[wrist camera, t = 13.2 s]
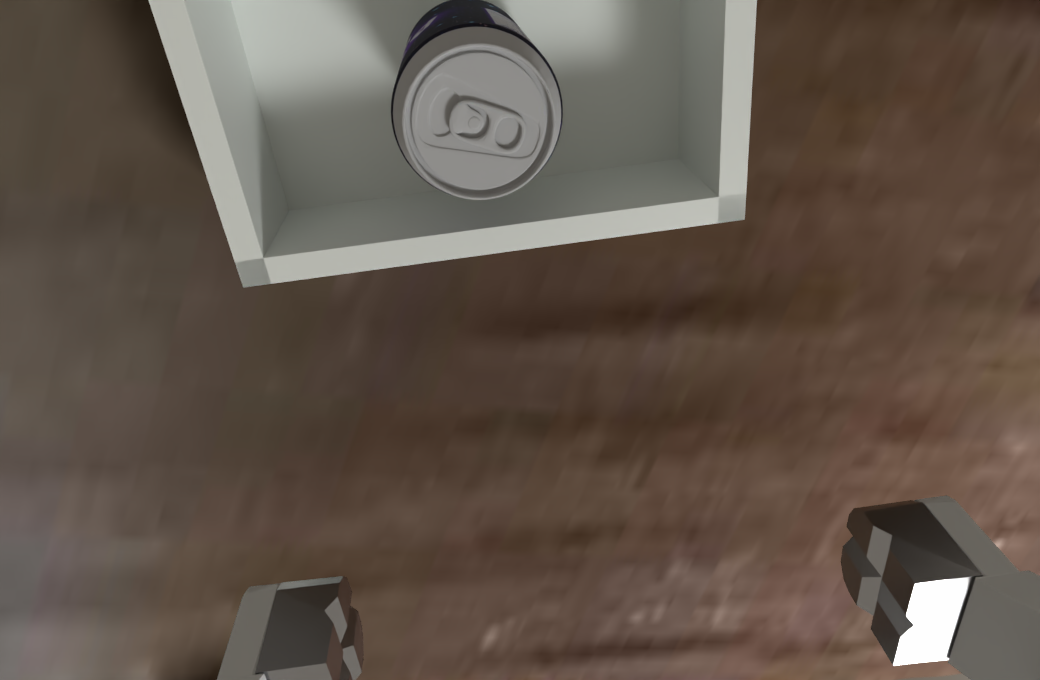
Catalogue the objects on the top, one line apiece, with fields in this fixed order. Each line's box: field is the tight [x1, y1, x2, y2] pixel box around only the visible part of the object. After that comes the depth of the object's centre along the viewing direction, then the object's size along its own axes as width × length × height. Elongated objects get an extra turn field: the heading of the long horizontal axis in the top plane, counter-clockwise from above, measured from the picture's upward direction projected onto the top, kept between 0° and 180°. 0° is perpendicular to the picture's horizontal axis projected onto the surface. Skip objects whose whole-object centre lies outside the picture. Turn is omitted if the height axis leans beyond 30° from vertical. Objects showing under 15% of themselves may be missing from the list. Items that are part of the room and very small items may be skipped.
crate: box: [148, 0, 757, 287], centre depth 31 cm, size 22×14×7 cm, turn 96°
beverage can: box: [391, 0, 563, 200], centre depth 28 cm, size 6×6×12 cm
